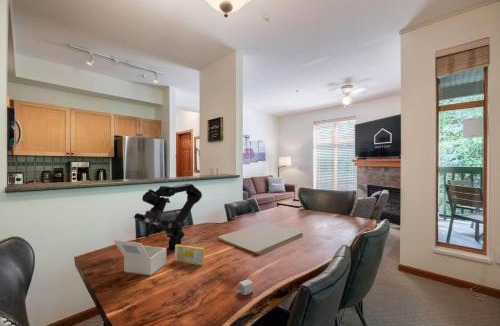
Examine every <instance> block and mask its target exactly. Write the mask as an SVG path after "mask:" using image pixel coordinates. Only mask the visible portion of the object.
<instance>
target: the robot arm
mask: <svg viewBox="0 0 500 326" xmlns="http://www.w3.org/2000/svg"><path fill="white" fill-rule="evenodd" d="M182 192H185V194H186V201H185V203H184V205H183V206H182V208H181V209H180V211H179V213H177V216H176V217H175V219H174V220H165V219H162V220H161V218H162V215H163V214H164V211H165V208H166V206H167V203H168V204H170V203H171V200H170V197H173V196H174V195H175V194H178V193H182ZM202 193H203V192H202V191H200V189H199V188H197V187H195V185H193V184H192V183H184V184H178V185H173V186H169V185H161V186H159V188H157V189H155V191H154V190H153V189H148V190H147V191H146V192H145V193H144V194H143V195H142V198H141V199H142V202H144V203H146V204H149V205H151V206H152V207H151V208H150V210H146V211H145V214H141V213H136V214H134V216H133V219H135V220H137V221H141V222H143V223H144V224H145V238H147V239H148V238H149V237H150V236H151V235H152V234H153V232H154V231H156V229H158V228H160V227H161V226H163V227H164V228H165V229H164V230H165V234H166V237H167V238H169V239H168V249H169V250H170V251H171V250H172V251H173V250H174V251H175V245H177V244H179V245H182V239H183V238H184V237H185V232H183V231H182V230H183V223H184V222H185V220H186V218H187V217H188V215H189V213H190V212H191V210H192V209H193V207H194V205H195V204H197V203H199V201H200V200H201V199H202V197H203V194H202Z"/></svg>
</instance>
